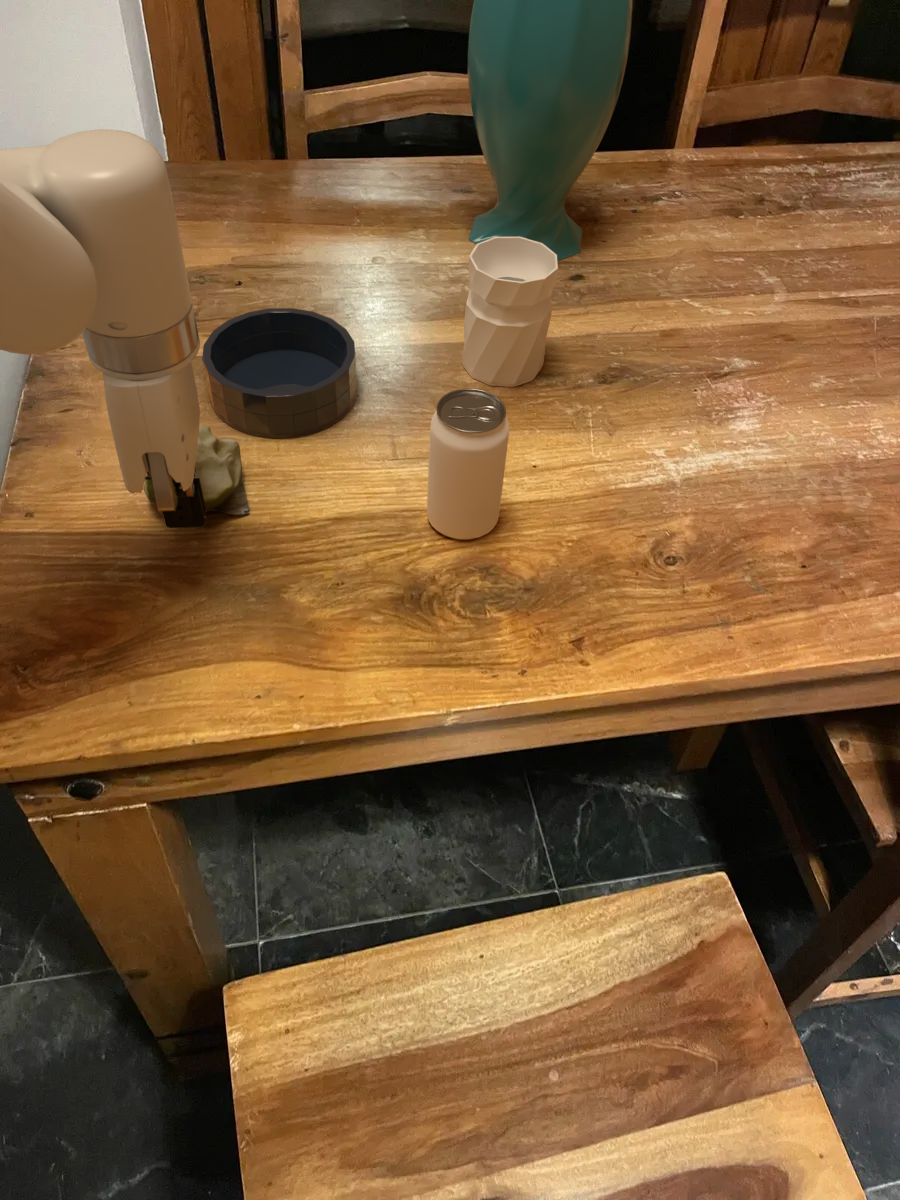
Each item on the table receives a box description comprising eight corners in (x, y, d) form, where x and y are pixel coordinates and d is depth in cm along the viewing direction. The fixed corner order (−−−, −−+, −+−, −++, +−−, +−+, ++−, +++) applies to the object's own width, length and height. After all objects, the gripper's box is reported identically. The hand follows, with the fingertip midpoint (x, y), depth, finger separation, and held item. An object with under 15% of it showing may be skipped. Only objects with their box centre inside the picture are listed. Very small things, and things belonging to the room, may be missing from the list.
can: (498, 544, 82) (512, 437, 73) (425, 541, 82) (429, 433, 73) (497, 493, 86) (510, 386, 77) (427, 490, 86) (432, 383, 77)
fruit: (173, 554, 81) (135, 487, 75) (150, 493, 87) (112, 426, 81) (271, 511, 83) (241, 441, 76) (241, 454, 88) (211, 385, 82)
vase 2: (445, 367, 98) (451, 262, 89) (489, 330, 103) (499, 226, 94) (515, 398, 96) (529, 293, 86) (558, 359, 100) (575, 255, 91)
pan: (205, 441, 89) (197, 398, 85) (214, 351, 98) (207, 309, 95) (359, 436, 90) (358, 394, 87) (353, 348, 100) (351, 306, 96)
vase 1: (448, 260, 112) (463, -29, 90) (468, 194, 124) (486, -78, 101) (590, 278, 111) (642, -9, 89) (598, 210, 123) (646, -61, 100)
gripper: (99, 272, 68) (150, 462, 82) (65, 399, 59) (129, 590, 73) (204, 270, 69) (237, 459, 83) (187, 396, 59) (227, 586, 73)
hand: (186, 520), depth 78 cm, fingers closed
